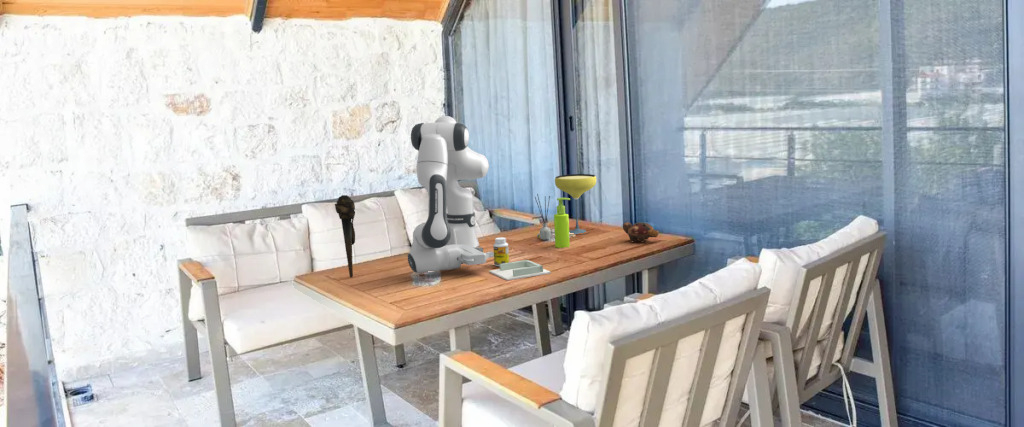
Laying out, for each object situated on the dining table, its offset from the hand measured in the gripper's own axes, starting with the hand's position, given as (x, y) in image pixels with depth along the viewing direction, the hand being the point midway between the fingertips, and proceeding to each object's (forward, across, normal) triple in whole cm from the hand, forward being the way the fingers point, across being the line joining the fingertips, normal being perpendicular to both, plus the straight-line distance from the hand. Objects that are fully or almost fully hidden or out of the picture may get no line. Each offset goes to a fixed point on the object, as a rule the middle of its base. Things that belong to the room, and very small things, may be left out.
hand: (487, 251), depth 296 cm
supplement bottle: (+5, 0, +6) cm, 8 cm away
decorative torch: (-47, +16, +6) cm, 50 cm away
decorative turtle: (+70, +4, +6) cm, 71 cm away
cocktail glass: (+60, +37, +6) cm, 71 cm away
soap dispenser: (+40, +15, +6) cm, 43 cm away
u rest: (+5, -15, +6) cm, 17 cm away
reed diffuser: (+40, +32, +6) cm, 52 cm away
